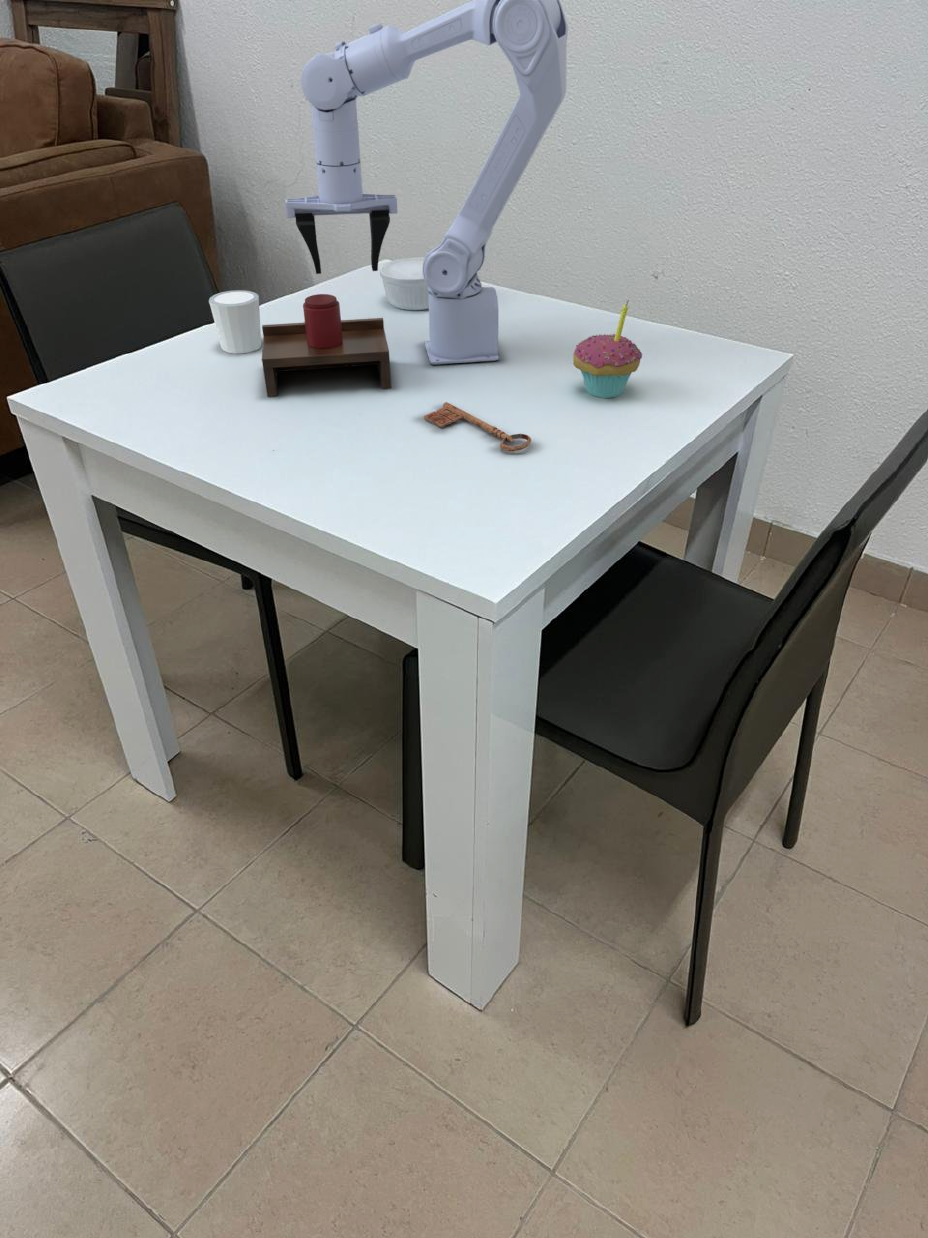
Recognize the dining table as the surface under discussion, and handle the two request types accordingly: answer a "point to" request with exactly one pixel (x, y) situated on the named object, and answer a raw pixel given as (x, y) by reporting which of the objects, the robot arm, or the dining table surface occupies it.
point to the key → (453, 414)
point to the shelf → (324, 350)
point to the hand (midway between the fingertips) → (346, 270)
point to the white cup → (237, 320)
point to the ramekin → (405, 283)
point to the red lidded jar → (322, 321)
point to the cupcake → (607, 361)
